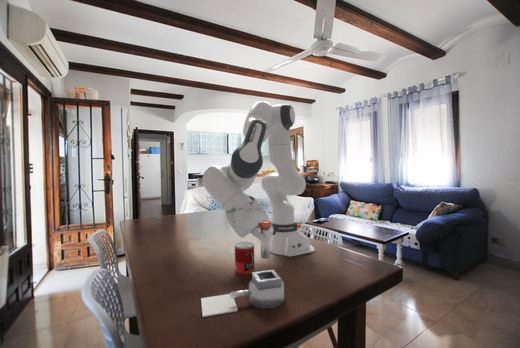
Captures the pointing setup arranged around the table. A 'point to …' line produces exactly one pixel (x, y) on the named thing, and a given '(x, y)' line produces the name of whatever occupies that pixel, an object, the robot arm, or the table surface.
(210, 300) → the rubber mat
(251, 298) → the square socket stand
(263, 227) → the red capped grey cylinder
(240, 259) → the canned food
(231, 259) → the table surface
